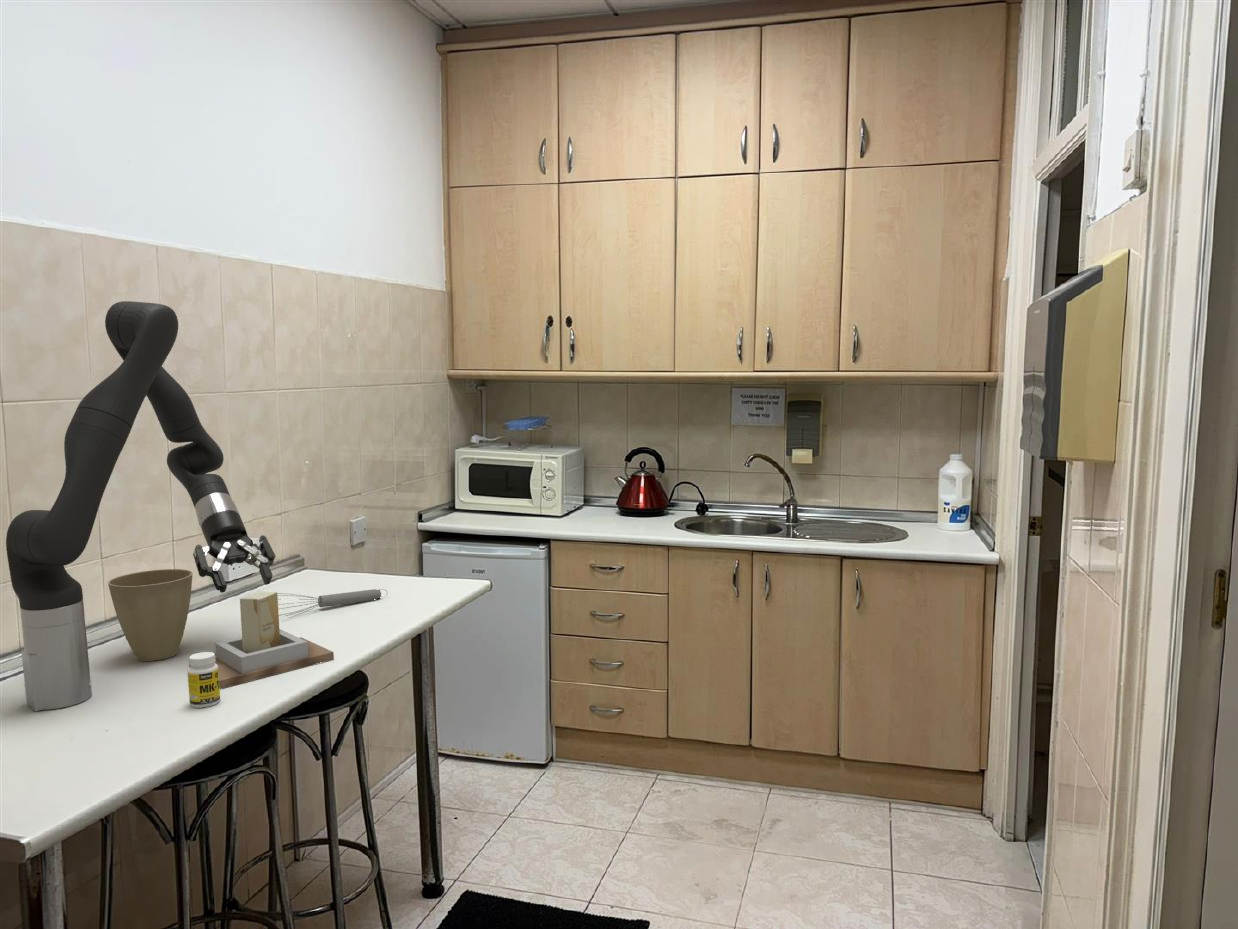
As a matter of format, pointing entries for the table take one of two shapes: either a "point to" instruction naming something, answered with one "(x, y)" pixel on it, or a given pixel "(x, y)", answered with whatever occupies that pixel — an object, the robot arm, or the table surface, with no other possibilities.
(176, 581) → the plant pot
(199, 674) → the supplement bottle
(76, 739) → the table surface
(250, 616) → the skincare box
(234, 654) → the collar
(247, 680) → the board
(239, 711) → the table surface
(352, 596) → the kitchen whisk
